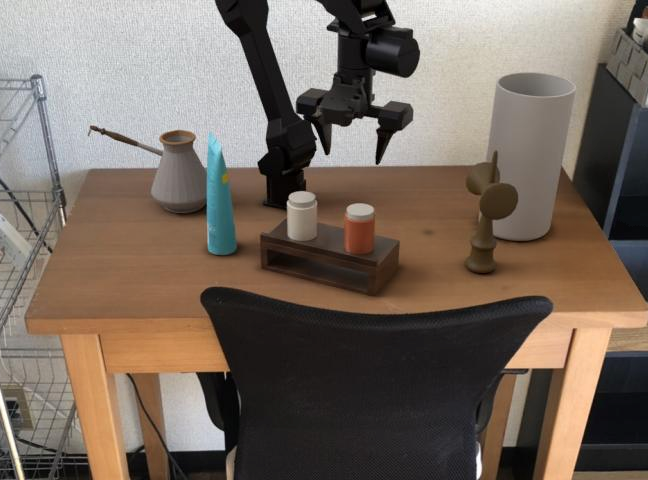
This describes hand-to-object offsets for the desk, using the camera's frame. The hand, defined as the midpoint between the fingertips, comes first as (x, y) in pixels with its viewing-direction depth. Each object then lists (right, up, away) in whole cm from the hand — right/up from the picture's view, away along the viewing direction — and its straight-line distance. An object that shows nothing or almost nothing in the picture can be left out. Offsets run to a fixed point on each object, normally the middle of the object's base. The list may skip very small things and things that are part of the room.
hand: (352, 159), depth 142 cm
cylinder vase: (+29, -10, +8) cm, 32 cm away
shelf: (-4, -19, -4) cm, 20 cm away
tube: (-22, -15, +1) cm, 27 cm away
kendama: (+21, -19, -4) cm, 28 cm away
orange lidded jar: (+1, -16, -9) cm, 18 cm away
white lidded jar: (-8, -14, -6) cm, 17 cm away
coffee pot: (-36, -5, +14) cm, 39 cm away
